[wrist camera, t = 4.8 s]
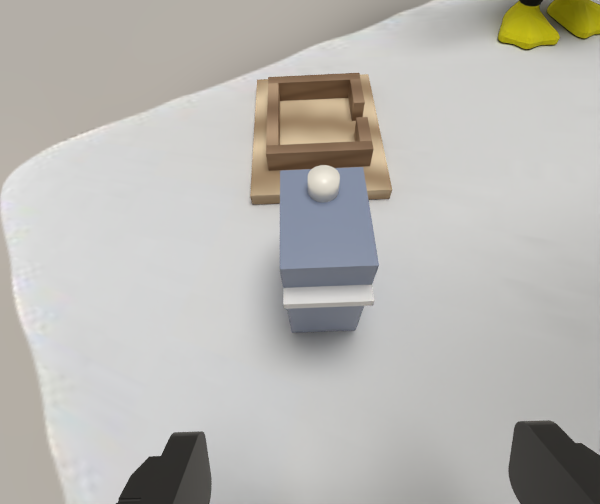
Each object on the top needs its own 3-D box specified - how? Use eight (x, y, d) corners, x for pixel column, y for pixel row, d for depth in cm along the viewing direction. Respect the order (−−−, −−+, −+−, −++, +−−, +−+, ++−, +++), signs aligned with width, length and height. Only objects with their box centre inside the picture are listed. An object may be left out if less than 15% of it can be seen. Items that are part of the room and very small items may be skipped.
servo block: (356, 343, 24) (386, 273, 14) (292, 345, 24) (277, 277, 14) (346, 246, 27) (363, 140, 18) (290, 248, 28) (278, 144, 18)
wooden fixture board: (389, 198, 30) (397, 173, 27) (252, 204, 30) (246, 179, 27) (366, 84, 38) (370, 55, 35) (258, 89, 38) (254, 61, 35)
